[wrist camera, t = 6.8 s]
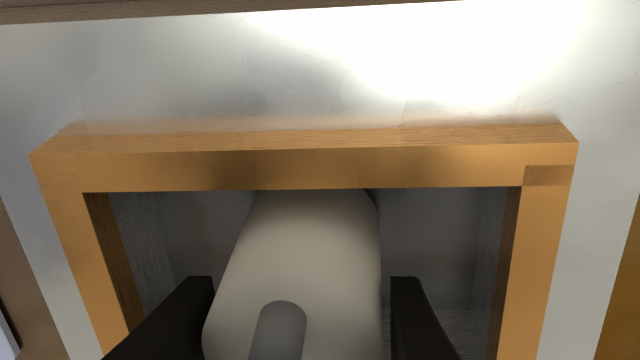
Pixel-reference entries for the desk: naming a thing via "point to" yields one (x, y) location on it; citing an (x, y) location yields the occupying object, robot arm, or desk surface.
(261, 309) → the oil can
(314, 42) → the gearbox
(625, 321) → the desk surface
